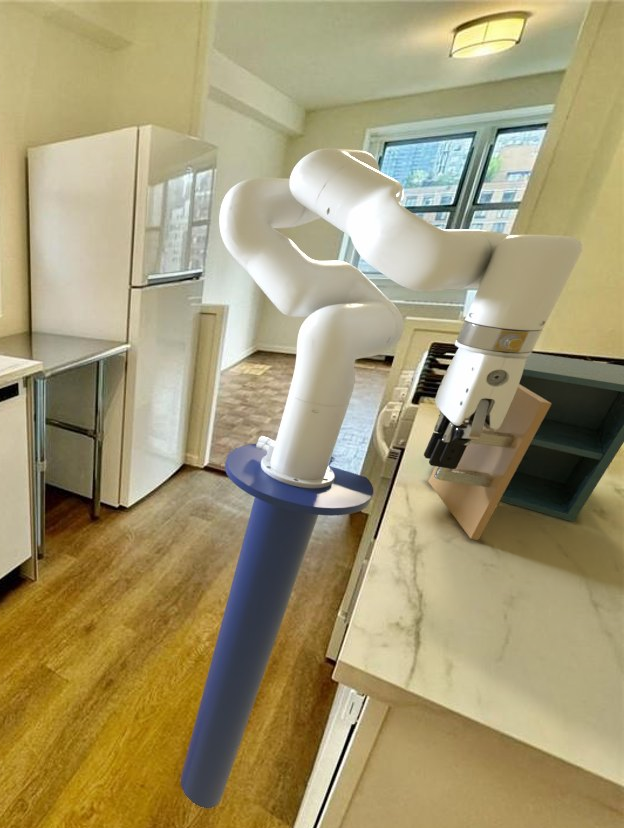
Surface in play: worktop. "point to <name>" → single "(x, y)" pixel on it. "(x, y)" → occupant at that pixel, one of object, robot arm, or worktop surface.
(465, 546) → the worktop surface
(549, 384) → the mini fridge
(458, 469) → the fridge door
